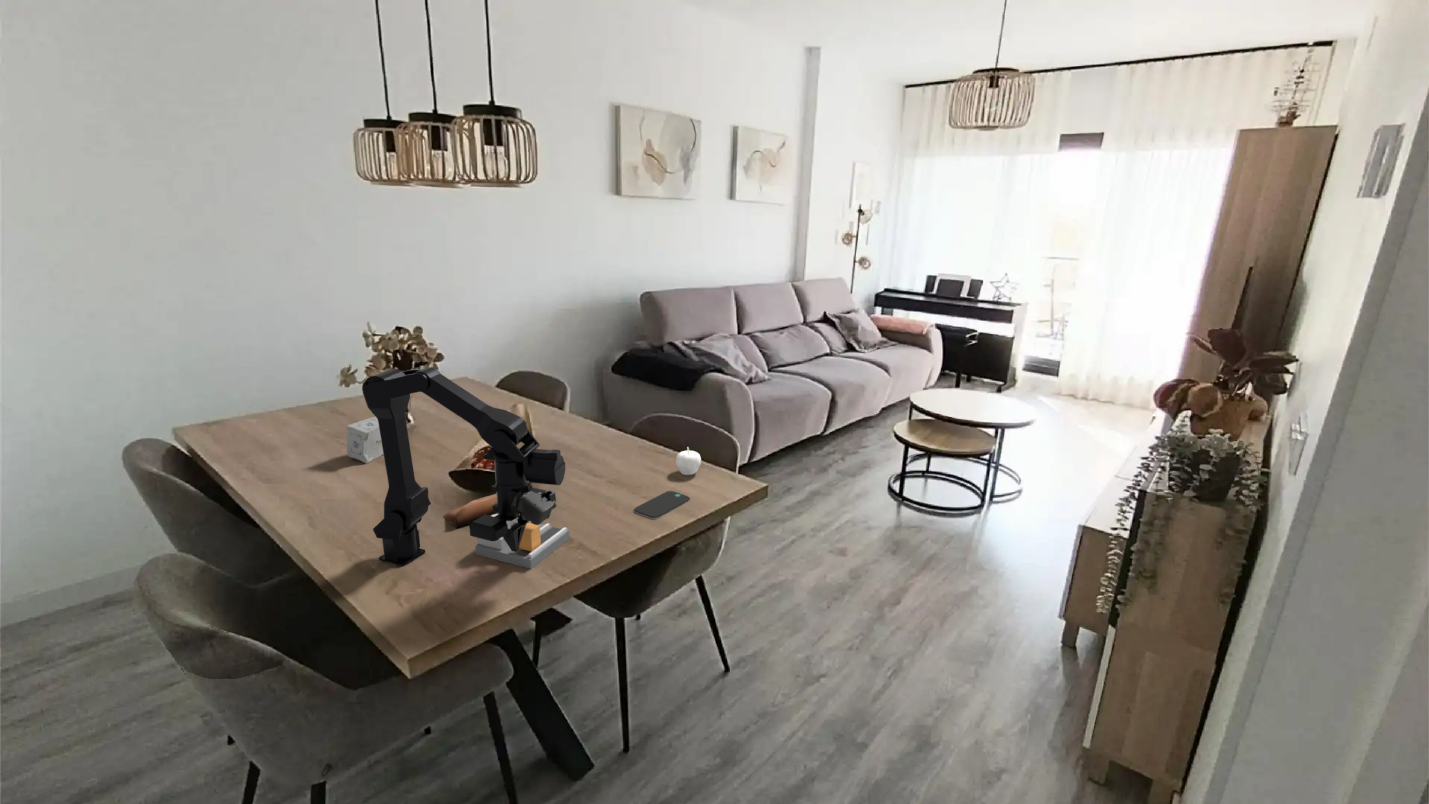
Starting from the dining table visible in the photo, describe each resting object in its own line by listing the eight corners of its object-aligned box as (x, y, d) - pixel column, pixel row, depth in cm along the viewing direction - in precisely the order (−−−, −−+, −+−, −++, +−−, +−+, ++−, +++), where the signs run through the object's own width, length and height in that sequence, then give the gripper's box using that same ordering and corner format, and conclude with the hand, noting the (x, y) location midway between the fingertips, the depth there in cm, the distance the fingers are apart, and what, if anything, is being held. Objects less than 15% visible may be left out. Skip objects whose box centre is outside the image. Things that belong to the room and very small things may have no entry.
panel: (531, 568, 134) (530, 549, 133) (475, 554, 139) (474, 535, 138) (569, 538, 147) (569, 520, 145) (517, 525, 151) (516, 508, 150)
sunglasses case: (508, 494, 167) (514, 477, 163) (522, 515, 164) (528, 498, 160) (439, 516, 154) (444, 499, 150) (453, 539, 151) (458, 522, 148)
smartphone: (692, 497, 168) (654, 518, 156) (692, 500, 169) (654, 521, 157) (669, 489, 172) (631, 509, 161) (669, 492, 173) (631, 512, 161)
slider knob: (532, 551, 136) (531, 531, 135) (520, 548, 137) (519, 528, 136) (540, 545, 139) (539, 525, 138) (528, 542, 140) (527, 522, 139)
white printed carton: (369, 464, 182) (364, 429, 179) (346, 459, 185) (342, 425, 182) (397, 453, 191) (393, 419, 188) (375, 448, 194) (371, 415, 191)
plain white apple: (670, 474, 183) (671, 447, 181) (683, 466, 189) (684, 440, 187) (692, 479, 180) (693, 452, 178) (704, 471, 186) (705, 445, 184)
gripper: (514, 506, 117) (518, 583, 122) (572, 470, 134) (574, 538, 139) (464, 495, 121) (470, 569, 126) (527, 461, 138) (530, 527, 142)
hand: (514, 550), depth 133 cm, fingers closed
